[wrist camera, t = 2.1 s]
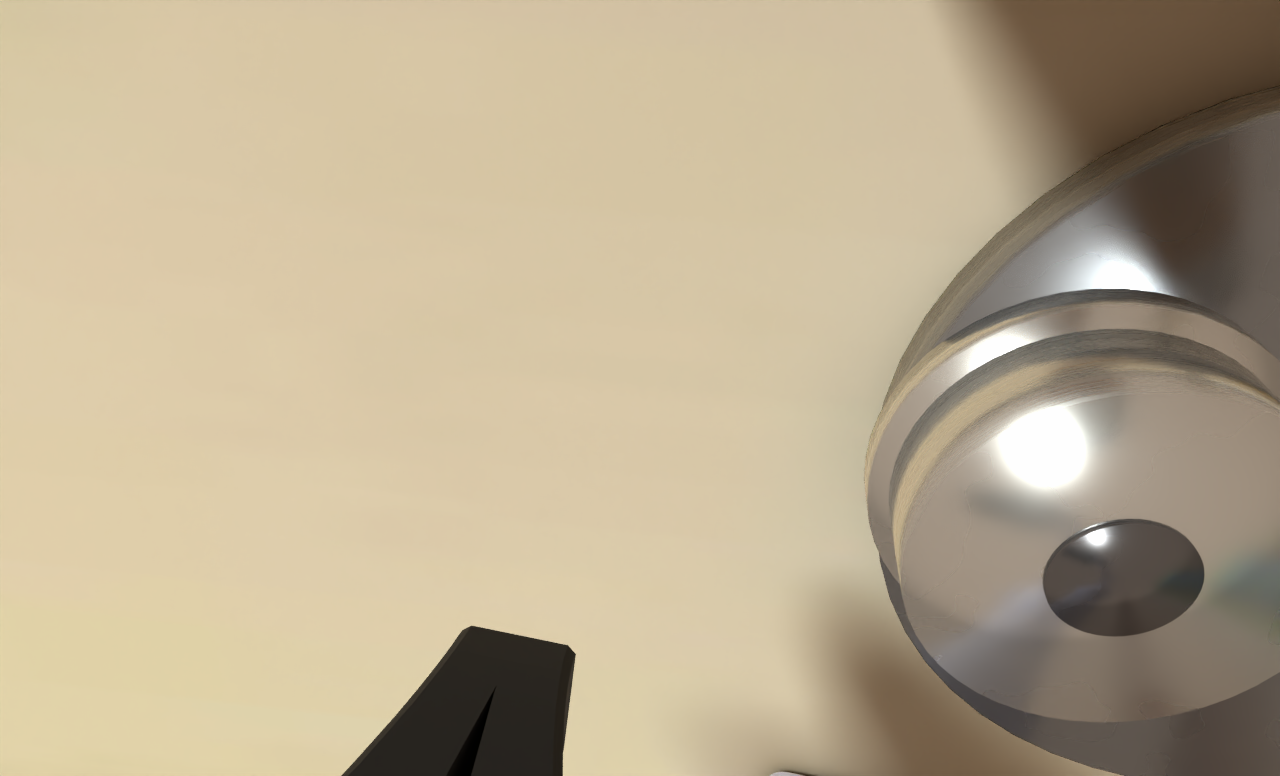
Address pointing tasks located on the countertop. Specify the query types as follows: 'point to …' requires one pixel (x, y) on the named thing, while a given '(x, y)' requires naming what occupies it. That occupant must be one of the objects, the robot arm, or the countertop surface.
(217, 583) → the countertop surface
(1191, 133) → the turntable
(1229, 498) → the cover
